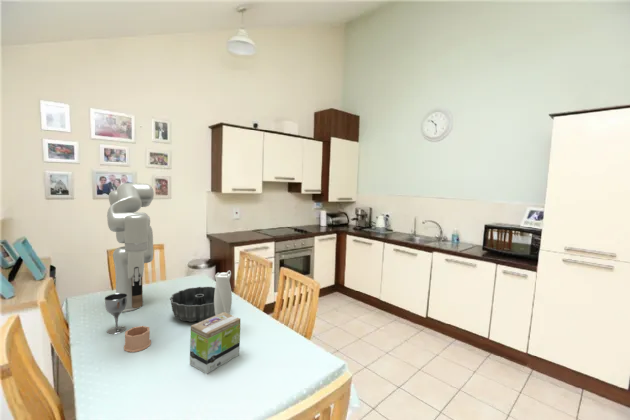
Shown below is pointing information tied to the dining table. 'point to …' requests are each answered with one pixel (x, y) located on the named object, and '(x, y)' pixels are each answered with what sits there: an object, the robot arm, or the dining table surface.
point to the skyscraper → (222, 293)
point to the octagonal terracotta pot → (137, 339)
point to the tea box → (214, 341)
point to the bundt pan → (194, 304)
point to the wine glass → (116, 309)
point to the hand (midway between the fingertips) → (137, 292)
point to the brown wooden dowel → (137, 297)
